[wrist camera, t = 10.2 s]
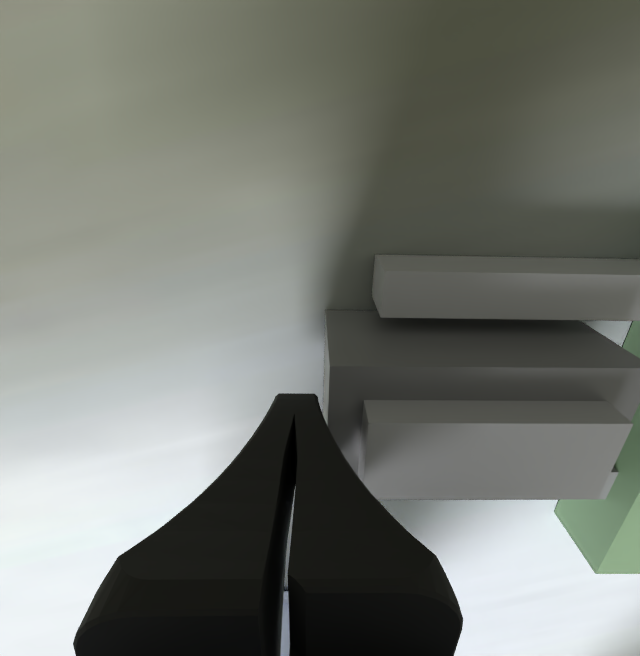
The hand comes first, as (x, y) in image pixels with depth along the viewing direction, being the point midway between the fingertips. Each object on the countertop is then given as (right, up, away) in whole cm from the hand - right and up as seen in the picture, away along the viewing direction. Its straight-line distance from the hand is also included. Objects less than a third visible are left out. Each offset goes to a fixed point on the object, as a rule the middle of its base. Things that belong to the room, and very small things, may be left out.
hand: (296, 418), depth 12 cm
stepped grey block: (+5, +1, +3) cm, 6 cm away
